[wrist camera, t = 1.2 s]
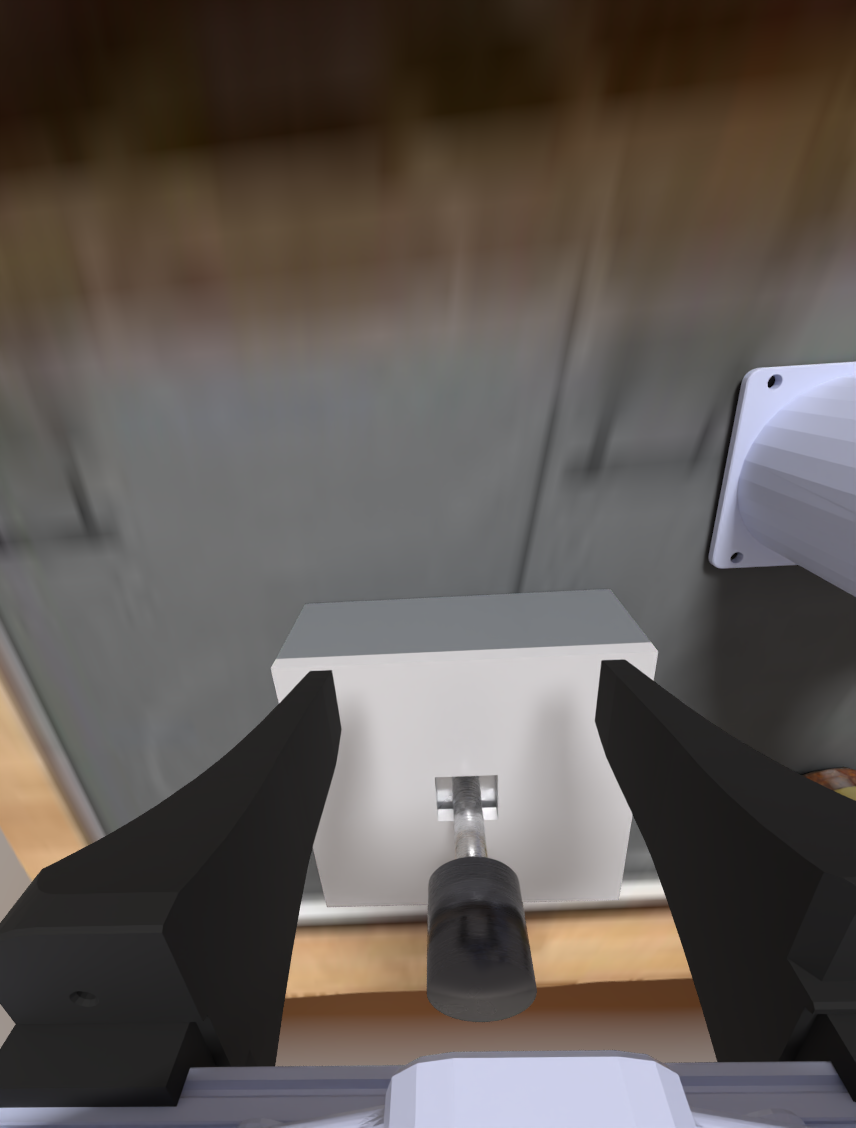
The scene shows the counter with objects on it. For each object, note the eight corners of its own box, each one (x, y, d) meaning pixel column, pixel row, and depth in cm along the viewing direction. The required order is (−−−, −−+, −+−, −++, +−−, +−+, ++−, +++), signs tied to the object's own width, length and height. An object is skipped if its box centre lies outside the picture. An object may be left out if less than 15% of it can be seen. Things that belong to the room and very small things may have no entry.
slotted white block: (609, 588, 21) (658, 651, 17) (587, 807, 27) (618, 899, 22) (305, 603, 22) (270, 668, 17) (344, 815, 27) (326, 907, 23)
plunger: (600, 666, 19) (706, 862, 11) (581, 853, 23) (649, 1081, 16) (325, 678, 19) (256, 875, 12) (357, 859, 23) (323, 1084, 16)
